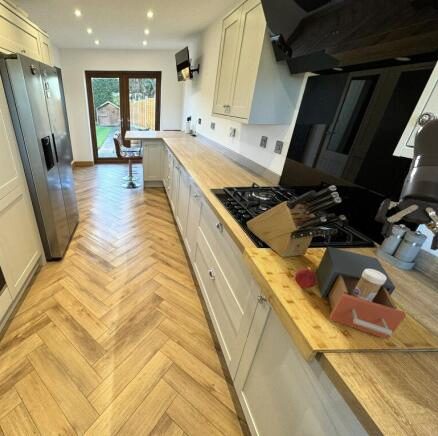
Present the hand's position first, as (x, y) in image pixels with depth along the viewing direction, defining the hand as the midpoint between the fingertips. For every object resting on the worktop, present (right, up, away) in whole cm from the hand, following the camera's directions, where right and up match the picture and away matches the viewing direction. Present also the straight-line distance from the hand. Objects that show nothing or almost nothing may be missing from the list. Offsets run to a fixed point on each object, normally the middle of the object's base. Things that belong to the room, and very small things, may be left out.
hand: (409, 242), depth 58 cm
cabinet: (0, -18, +20) cm, 27 cm away
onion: (-13, -17, +21) cm, 30 cm away
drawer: (-6, -22, +9) cm, 25 cm away
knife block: (-8, -6, +44) cm, 45 cm away
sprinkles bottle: (-5, -21, +10) cm, 24 cm away
